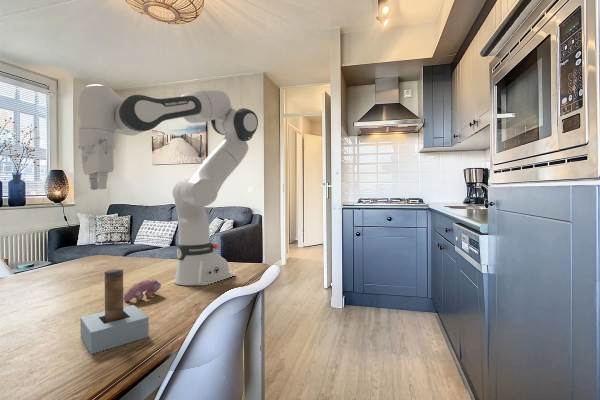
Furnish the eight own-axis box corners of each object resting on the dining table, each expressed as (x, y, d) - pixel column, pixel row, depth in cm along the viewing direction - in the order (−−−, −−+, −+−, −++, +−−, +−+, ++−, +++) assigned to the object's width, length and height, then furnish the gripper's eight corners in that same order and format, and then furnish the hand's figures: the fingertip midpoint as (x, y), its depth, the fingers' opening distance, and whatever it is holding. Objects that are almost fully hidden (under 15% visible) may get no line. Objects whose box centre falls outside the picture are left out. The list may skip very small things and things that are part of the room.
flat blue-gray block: (133, 322, 77) (133, 304, 77) (148, 336, 69) (148, 317, 69) (80, 336, 69) (80, 317, 69) (91, 354, 61) (90, 332, 61)
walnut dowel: (121, 331, 72) (120, 268, 71) (125, 336, 69) (125, 271, 69) (103, 336, 69) (102, 271, 69) (107, 342, 66) (106, 274, 66)
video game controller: (129, 308, 90) (135, 289, 89) (121, 299, 92) (127, 280, 91) (159, 299, 99) (165, 281, 97) (151, 291, 101) (157, 273, 99)
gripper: (119, 138, 82) (120, 188, 83) (101, 147, 97) (102, 190, 97) (92, 134, 78) (92, 188, 78) (77, 144, 92) (78, 189, 93)
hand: (98, 189), depth 88 cm, fingers open, 8 cm apart
